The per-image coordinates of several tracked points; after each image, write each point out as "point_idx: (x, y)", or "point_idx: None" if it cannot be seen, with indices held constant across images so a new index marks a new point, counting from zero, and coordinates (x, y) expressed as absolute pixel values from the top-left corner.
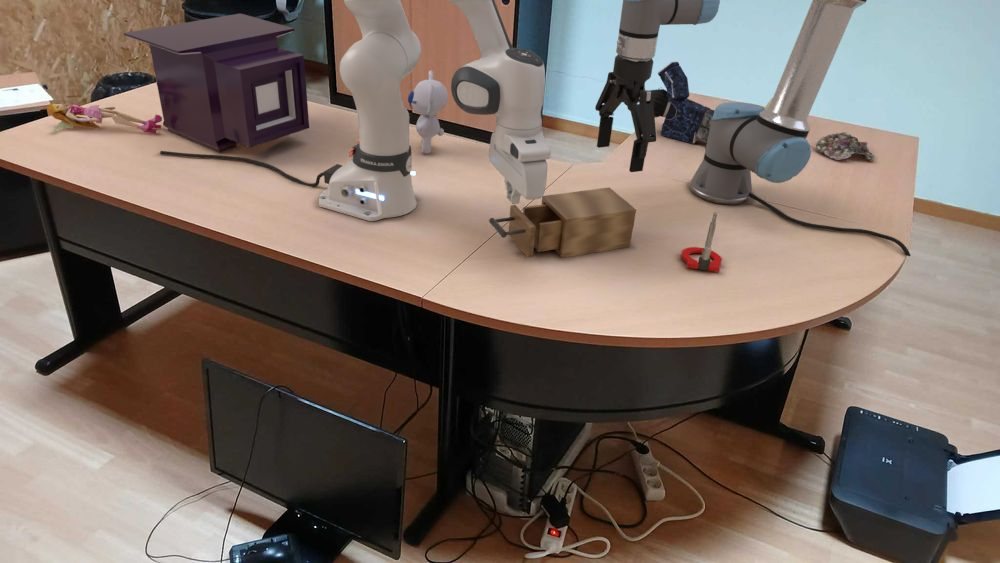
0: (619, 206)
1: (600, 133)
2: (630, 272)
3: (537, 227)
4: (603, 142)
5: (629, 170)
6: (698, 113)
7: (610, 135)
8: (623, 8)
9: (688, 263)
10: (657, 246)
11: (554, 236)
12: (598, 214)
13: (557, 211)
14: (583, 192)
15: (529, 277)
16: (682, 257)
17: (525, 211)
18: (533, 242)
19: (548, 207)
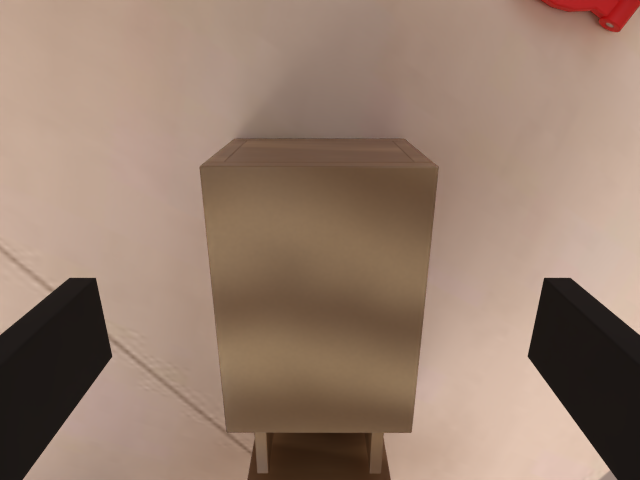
0: (388, 222)
1: (52, 438)
2: (529, 216)
3: None
4: (88, 348)
5: (533, 359)
6: None
7: (43, 330)
8: None
9: (621, 27)
10: (435, 38)
11: None
12: (418, 328)
13: (347, 431)
14: (229, 296)
15: (440, 437)
16: (558, 7)
17: (269, 462)
18: (385, 452)
19: None
